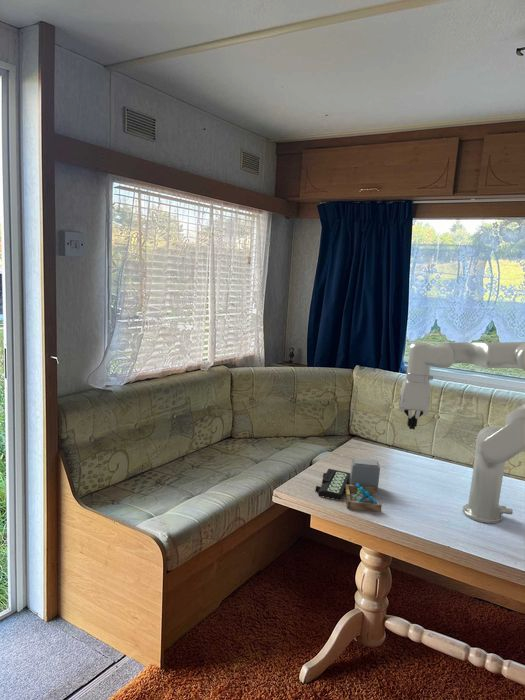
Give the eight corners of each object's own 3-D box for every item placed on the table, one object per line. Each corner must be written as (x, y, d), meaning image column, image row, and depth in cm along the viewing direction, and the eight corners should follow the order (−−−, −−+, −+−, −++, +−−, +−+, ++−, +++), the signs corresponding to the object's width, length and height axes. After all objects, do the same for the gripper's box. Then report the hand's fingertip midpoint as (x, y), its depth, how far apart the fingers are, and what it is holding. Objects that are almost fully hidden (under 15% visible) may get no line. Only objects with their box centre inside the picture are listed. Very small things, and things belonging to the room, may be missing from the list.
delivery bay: (376, 493, 192) (376, 486, 191) (380, 512, 178) (381, 504, 177) (344, 490, 193) (345, 483, 192) (347, 508, 179) (347, 500, 178)
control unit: (375, 485, 199) (378, 459, 197) (377, 493, 192) (380, 466, 190) (349, 482, 200) (351, 456, 198) (350, 490, 193) (352, 463, 191)
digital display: (326, 466, 207) (350, 472, 204) (325, 474, 207) (350, 479, 204) (314, 487, 187) (341, 493, 184) (313, 495, 188) (340, 502, 185)
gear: (383, 506, 178) (364, 486, 177) (371, 518, 177) (352, 499, 176) (371, 496, 189) (353, 477, 187) (359, 507, 188) (342, 489, 187)
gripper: (436, 377, 184) (430, 427, 187) (394, 374, 185) (388, 423, 188) (441, 382, 177) (435, 433, 180) (397, 378, 178) (391, 429, 181)
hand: (411, 428), depth 184 cm, fingers closed
